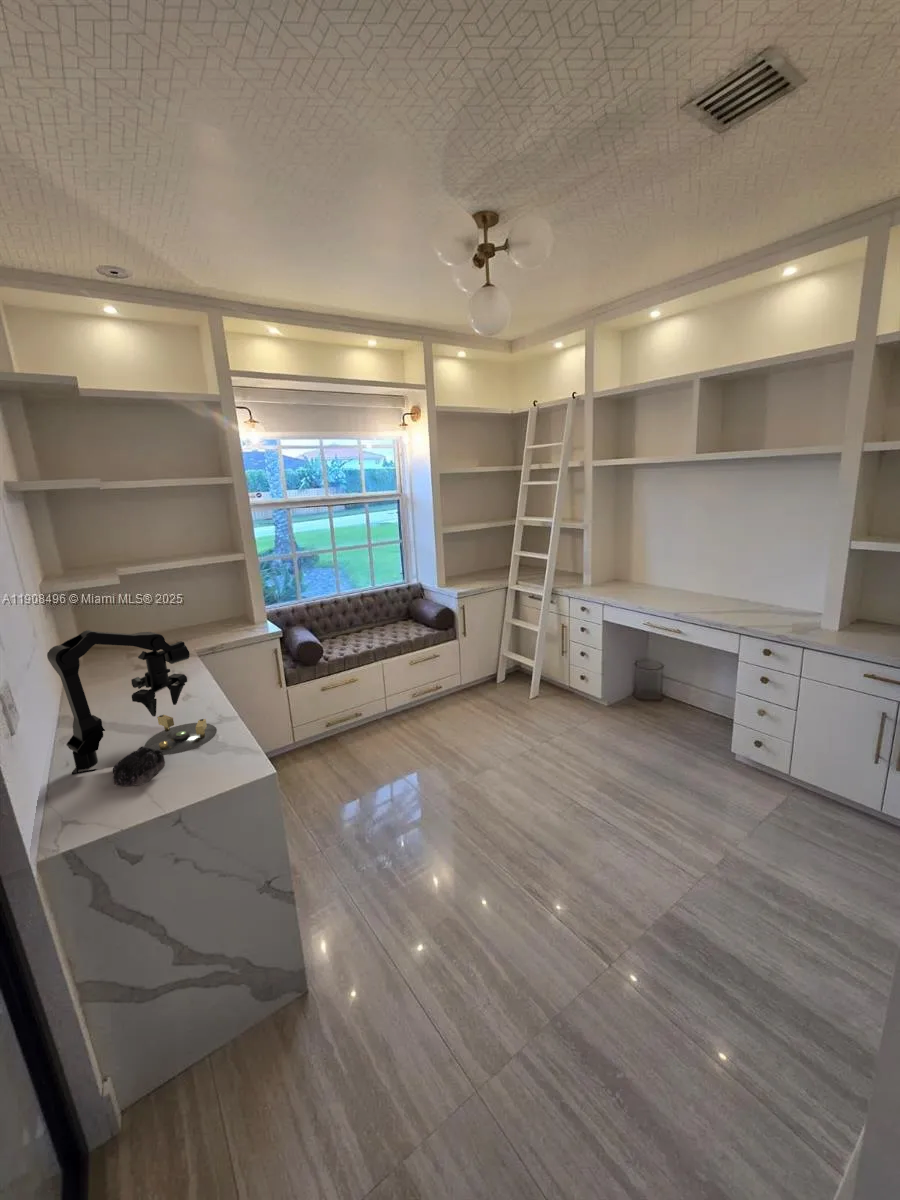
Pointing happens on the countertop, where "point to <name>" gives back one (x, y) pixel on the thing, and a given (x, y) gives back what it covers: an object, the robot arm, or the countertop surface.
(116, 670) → the countertop surface
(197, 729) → the knob near
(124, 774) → the crystal cluster
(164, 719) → the knob far
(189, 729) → the levelling plate
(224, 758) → the countertop surface
